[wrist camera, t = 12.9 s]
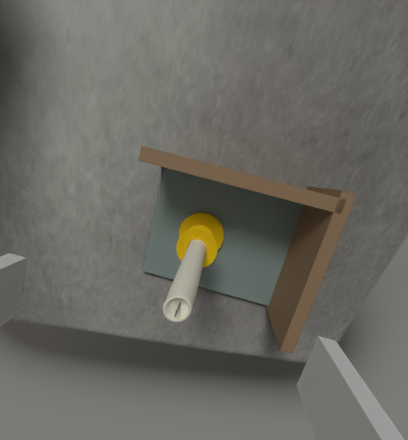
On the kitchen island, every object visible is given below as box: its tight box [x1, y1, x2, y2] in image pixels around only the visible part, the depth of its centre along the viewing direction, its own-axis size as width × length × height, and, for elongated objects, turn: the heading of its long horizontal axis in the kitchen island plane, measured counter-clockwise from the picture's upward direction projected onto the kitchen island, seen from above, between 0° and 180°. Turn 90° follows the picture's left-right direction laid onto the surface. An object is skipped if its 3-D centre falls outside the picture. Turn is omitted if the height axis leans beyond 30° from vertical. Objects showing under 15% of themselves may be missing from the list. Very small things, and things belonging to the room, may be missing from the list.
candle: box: [163, 212, 224, 322], centre depth 18 cm, size 5×5×16 cm
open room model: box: [139, 146, 356, 354], centre depth 23 cm, size 18×15×7 cm
